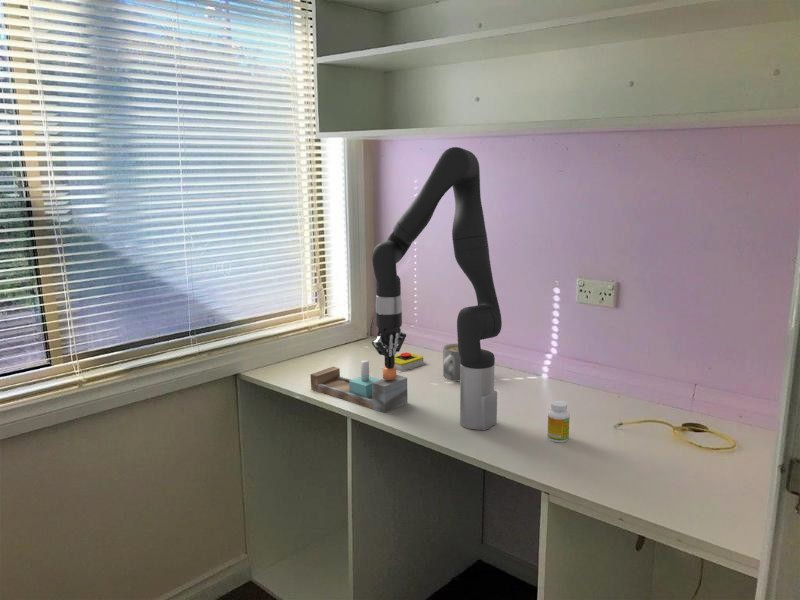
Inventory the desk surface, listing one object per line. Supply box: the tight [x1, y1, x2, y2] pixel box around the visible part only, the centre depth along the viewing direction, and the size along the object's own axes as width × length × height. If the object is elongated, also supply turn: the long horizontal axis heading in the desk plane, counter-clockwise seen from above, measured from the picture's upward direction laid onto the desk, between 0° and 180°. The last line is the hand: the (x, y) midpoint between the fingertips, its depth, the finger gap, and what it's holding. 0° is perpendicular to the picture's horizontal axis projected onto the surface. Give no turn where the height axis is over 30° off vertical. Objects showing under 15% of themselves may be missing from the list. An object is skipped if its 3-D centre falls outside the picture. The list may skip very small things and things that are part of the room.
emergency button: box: [380, 352, 427, 373], centre depth 233 cm, size 9×4×15 cm
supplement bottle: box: [547, 400, 571, 443], centre depth 170 cm, size 5×5×10 cm
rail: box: [309, 366, 409, 414], centre depth 204 cm, size 32×10×8 cm, turn 49°
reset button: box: [382, 366, 398, 380], centre depth 194 cm, size 4×4×3 cm
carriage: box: [349, 359, 382, 398], centre depth 201 cm, size 7×7×10 cm
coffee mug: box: [442, 342, 460, 381], centre depth 219 cm, size 13×10×10 cm
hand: (389, 367), depth 193 cm, fingers closed
